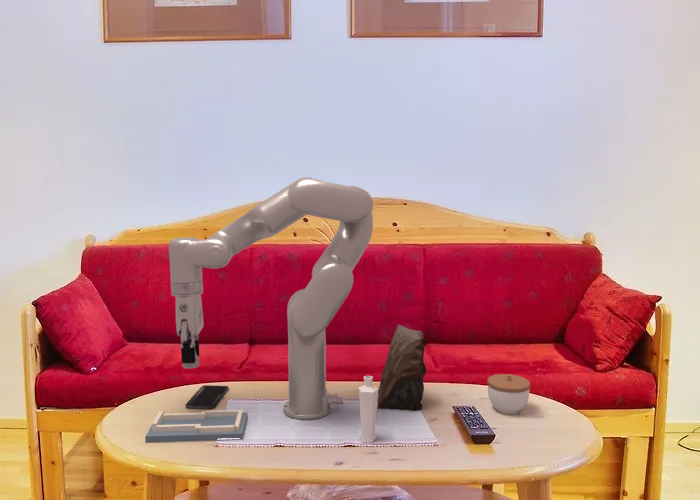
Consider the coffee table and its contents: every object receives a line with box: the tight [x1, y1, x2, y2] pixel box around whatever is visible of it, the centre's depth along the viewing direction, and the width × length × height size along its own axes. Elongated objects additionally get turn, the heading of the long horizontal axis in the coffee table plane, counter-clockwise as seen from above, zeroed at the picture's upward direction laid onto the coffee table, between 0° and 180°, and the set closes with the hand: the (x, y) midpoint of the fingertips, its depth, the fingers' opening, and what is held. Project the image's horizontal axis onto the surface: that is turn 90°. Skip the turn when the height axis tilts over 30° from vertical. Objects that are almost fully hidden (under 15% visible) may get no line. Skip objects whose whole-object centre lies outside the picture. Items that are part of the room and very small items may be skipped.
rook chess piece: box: [181, 334, 201, 370], centre depth 151 cm, size 4×4×8 cm
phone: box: [185, 384, 229, 411], centre depth 165 cm, size 8×1×15 cm
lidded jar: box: [487, 373, 531, 415], centre depth 157 cm, size 11×11×9 cm
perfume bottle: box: [358, 375, 379, 444], centre depth 139 cm, size 5×4×15 cm
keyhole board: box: [144, 409, 249, 443], centre depth 145 cm, size 22×12×4 cm, turn 94°
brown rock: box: [377, 324, 427, 412], centre depth 160 cm, size 13×13×20 cm
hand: (190, 358), depth 151 cm, fingers closed on rook chess piece, 4 cm apart
